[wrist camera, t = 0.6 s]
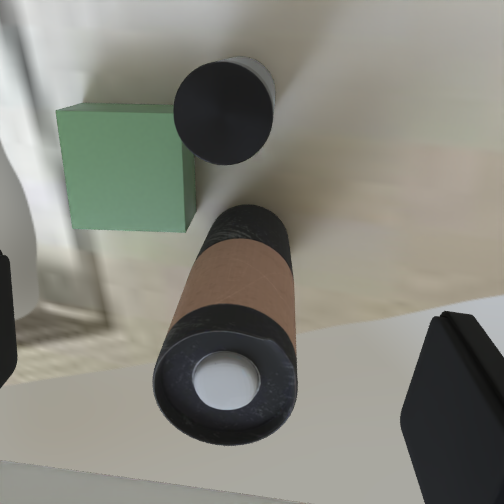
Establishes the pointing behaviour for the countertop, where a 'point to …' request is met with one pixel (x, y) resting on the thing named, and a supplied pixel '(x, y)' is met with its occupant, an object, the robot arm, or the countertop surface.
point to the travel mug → (233, 335)
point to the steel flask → (225, 110)
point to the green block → (126, 168)
